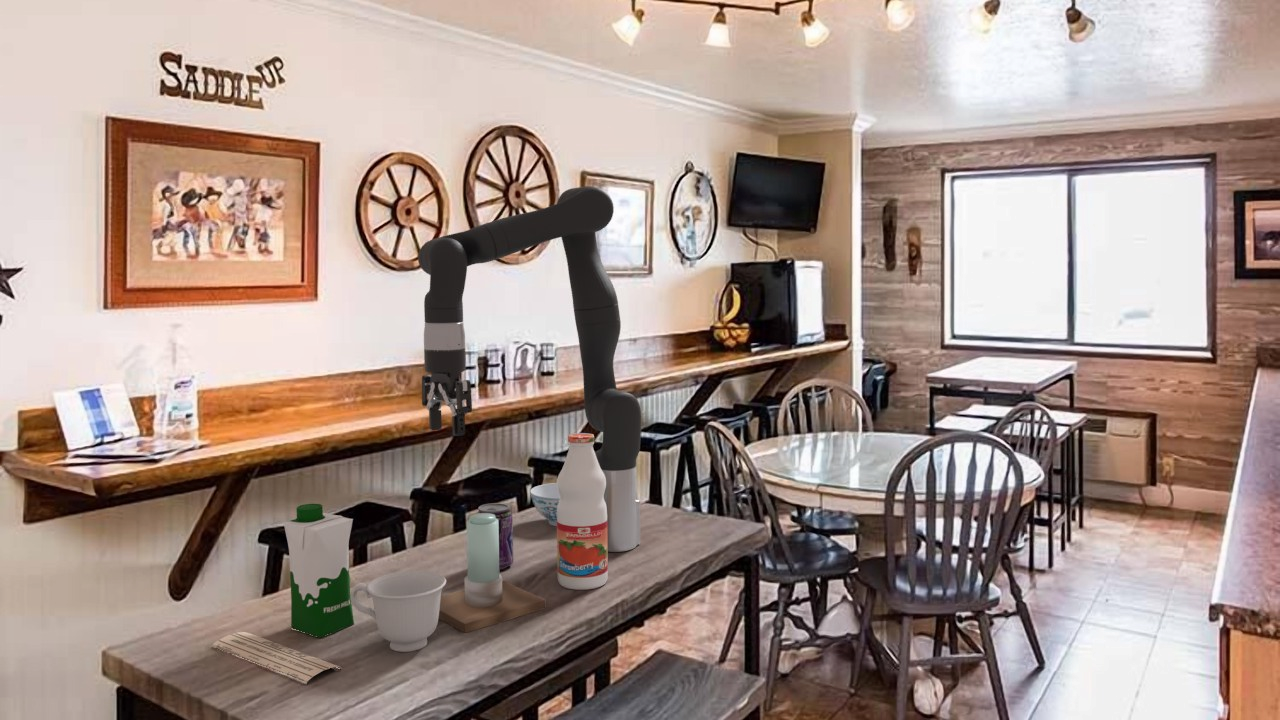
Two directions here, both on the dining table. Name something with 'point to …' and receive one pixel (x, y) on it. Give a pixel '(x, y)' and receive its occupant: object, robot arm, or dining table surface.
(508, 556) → the beverage can
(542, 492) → the chinaware
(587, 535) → the strawberry yogurt bottle
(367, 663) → the dining table surface
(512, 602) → the stud base
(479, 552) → the pale green cylinder
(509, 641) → the dining table surface
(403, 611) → the teacup
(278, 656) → the newspaper
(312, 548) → the milk carton
